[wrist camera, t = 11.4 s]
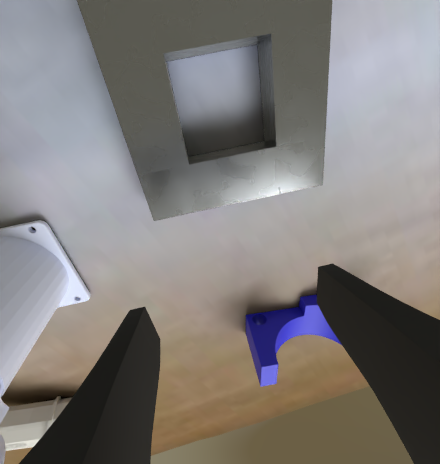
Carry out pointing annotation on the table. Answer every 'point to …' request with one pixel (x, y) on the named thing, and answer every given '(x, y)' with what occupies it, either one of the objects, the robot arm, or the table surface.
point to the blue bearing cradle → (282, 333)
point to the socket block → (164, 106)
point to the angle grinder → (30, 422)
